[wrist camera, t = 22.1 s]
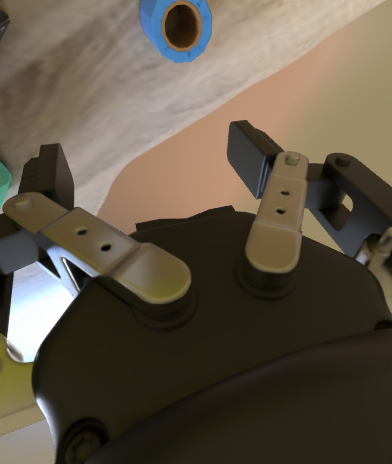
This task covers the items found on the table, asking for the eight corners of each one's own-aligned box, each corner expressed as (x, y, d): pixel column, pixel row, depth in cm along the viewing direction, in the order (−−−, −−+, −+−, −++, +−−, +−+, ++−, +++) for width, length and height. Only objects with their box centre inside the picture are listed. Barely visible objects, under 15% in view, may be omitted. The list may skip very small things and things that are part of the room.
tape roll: (144, 48, 34) (154, 64, 29) (136, -19, 30) (147, -14, 24) (192, 44, 35) (210, 60, 30) (191, -20, 31) (213, -15, 26)
